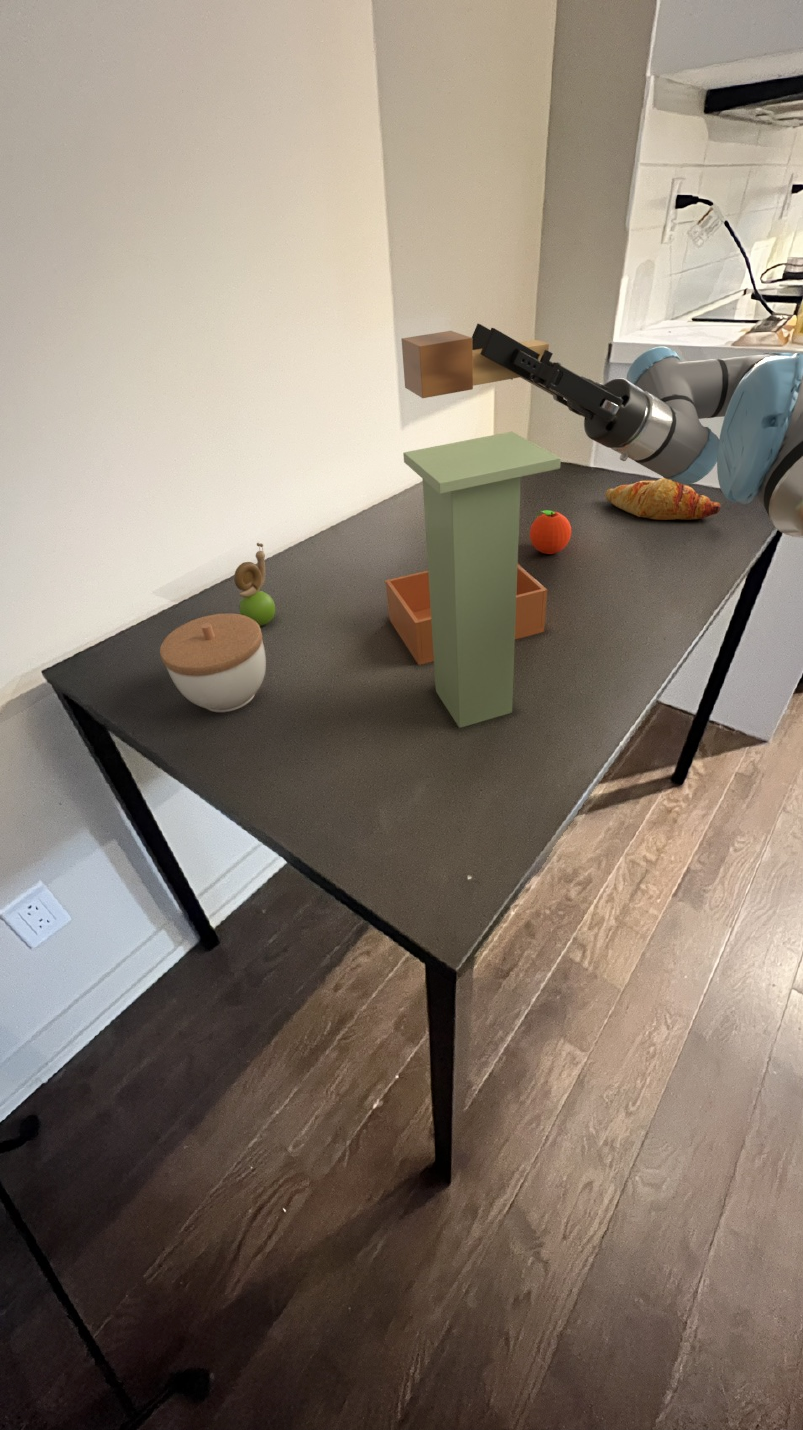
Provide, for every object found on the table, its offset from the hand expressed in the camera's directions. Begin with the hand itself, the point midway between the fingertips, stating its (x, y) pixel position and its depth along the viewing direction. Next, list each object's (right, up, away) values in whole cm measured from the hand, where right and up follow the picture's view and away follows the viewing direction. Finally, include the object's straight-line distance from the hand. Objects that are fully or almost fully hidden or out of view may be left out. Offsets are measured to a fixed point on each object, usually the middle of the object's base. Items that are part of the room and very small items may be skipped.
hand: (480, 339), depth 69 cm
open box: (+1, -29, +23) cm, 37 cm away
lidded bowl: (-32, -39, +15) cm, 53 cm away
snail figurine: (-31, -27, +29) cm, 50 cm away
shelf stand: (+2, -40, +10) cm, 41 cm away
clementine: (+17, -13, +40) cm, 45 cm away
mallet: (0, -3, +3) cm, 4 cm away
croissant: (+40, -4, +49) cm, 63 cm away
